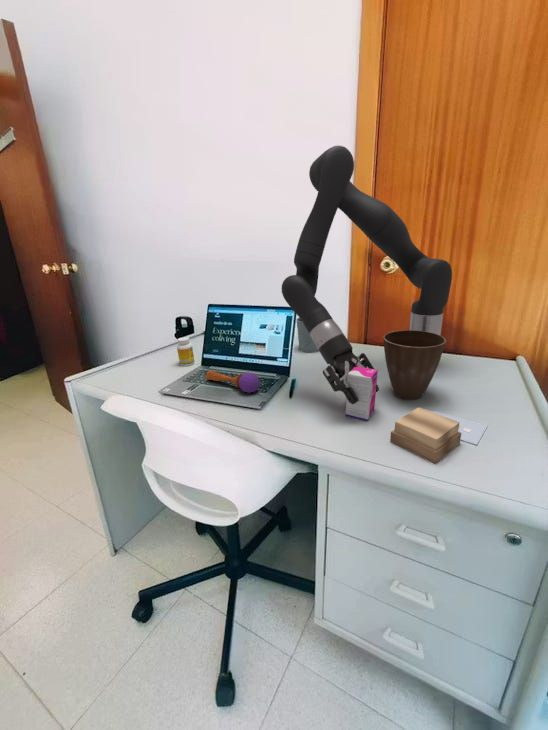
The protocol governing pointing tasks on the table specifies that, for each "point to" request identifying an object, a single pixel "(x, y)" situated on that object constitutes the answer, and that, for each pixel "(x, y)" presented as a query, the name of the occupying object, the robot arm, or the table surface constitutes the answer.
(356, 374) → the supplement box
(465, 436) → the page
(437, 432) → the base block
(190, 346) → the supplement bottle
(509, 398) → the table surface
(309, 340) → the gray cup
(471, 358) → the table surface
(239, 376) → the kendama
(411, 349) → the plant pot
